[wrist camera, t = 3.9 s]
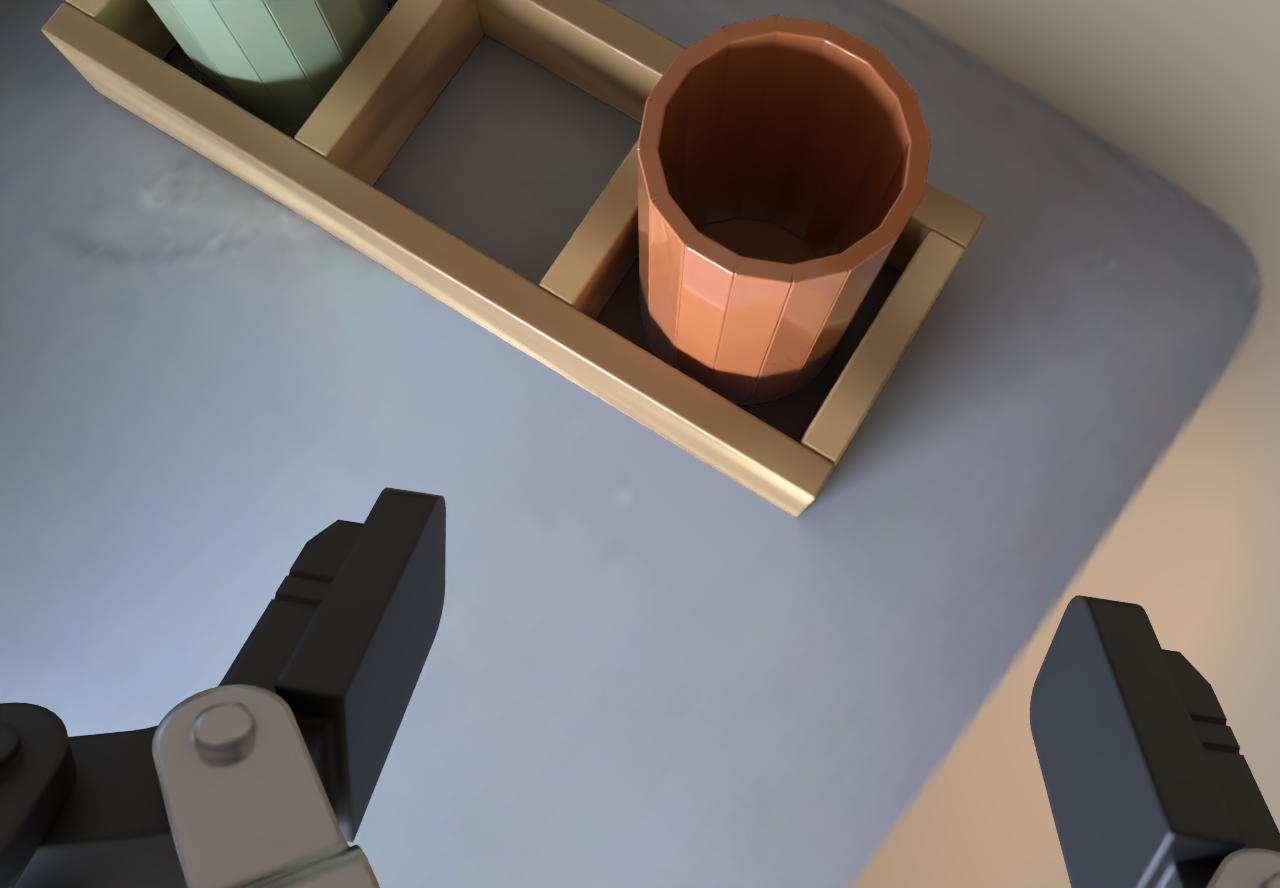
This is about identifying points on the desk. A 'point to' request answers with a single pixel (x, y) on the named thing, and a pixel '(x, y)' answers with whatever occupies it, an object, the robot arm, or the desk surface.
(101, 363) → the desk surface
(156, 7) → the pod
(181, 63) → the desk surface
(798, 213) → the brown cylindrical cup
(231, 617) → the desk surface
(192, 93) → the pod rack
